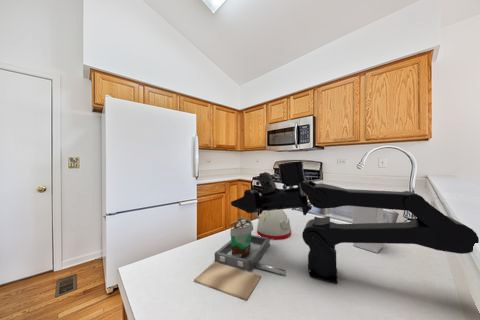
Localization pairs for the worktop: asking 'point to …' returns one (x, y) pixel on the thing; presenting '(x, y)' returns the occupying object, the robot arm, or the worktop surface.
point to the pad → (229, 280)
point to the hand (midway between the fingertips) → (238, 203)
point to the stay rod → (269, 268)
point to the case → (242, 263)
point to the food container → (241, 237)
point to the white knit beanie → (274, 225)
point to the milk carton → (368, 217)
